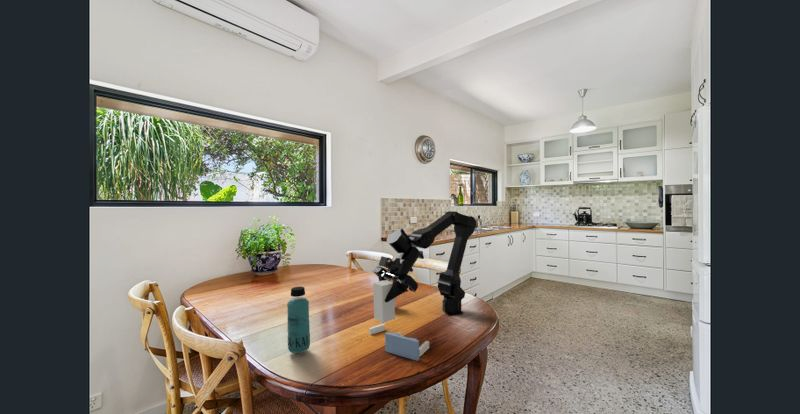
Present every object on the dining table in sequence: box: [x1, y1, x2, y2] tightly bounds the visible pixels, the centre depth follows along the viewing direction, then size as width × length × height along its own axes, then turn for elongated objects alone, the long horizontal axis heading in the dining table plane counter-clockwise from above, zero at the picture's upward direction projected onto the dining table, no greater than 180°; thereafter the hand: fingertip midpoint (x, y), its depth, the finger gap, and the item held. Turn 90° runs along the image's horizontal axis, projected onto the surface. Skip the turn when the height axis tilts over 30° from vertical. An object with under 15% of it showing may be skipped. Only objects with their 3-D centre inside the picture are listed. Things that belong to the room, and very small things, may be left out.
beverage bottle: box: [286, 286, 311, 354], centre depth 97 cm, size 6×7×20 cm
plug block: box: [372, 280, 396, 324], centre depth 107 cm, size 5×5×12 cm
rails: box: [368, 323, 402, 336], centre depth 108 cm, size 6×10×2 cm, turn 39°
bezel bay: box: [384, 332, 430, 362], centre depth 98 cm, size 8×11×6 cm
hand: (380, 299), depth 106 cm, fingers closed on plug block, 5 cm apart
